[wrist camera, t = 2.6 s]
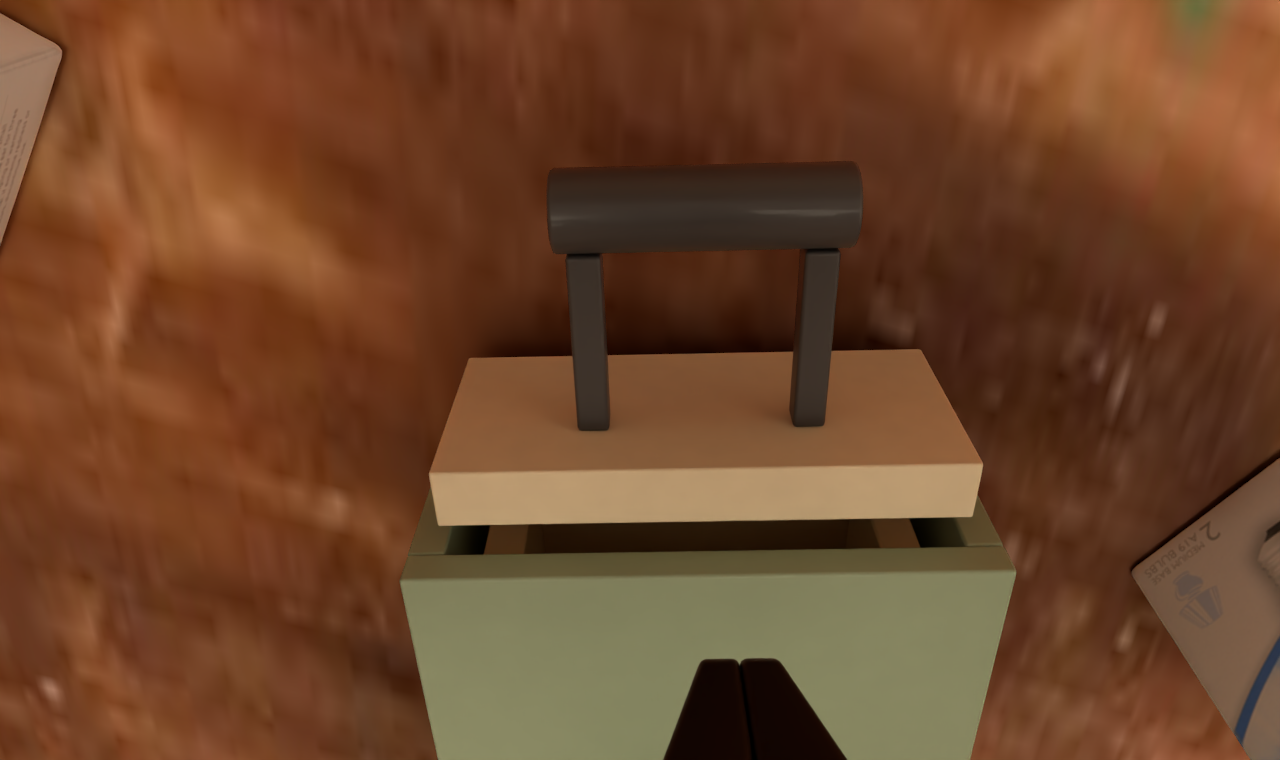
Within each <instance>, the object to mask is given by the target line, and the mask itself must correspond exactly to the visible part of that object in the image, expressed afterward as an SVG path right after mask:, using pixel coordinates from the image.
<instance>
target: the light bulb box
mask: <svg viewBox="0 0 1280 760" xmlns="http://www.w3.org/2000/svg"><path fill="white" fill-rule="evenodd" d="M1132 576H1133V578H1134V579H1135V581H1136V582H1137V584H1138V585H1139V587H1140V588H1141V590H1142V592H1143V593H1144V595H1145V596H1146V598H1147V600H1148V601H1149V603H1150V604H1151V606H1152V608H1153V609H1154V611H1155V612H1156V614H1157V615H1158V617H1159V619H1160V620H1161V622H1162V623H1163V625H1164V626H1165V628H1166V629H1167V631H1168V632H1169V634H1170V635H1171V637H1172V638H1173V640H1174V641H1175V643H1176V644H1177V646H1178V648H1179V649H1180V651H1181V652H1182V654H1183V656H1184V657H1185V659H1186V660H1187V662H1188V663H1189V665H1190V667H1191V668H1192V670H1193V671H1194V673H1195V675H1196V676H1197V678H1198V679H1199V681H1200V682H1201V684H1202V685H1203V687H1204V688H1205V690H1206V691H1207V693H1208V695H1209V696H1210V698H1211V699H1212V701H1213V702H1214V704H1215V706H1216V707H1217V709H1218V710H1219V712H1220V713H1221V715H1222V717H1223V718H1224V720H1225V721H1226V723H1227V724H1228V726H1229V727H1230V729H1231V730H1232V732H1233V733H1234V735H1235V736H1236V738H1237V739H1238V741H1239V742H1240V744H1241V746H1242V747H1243V749H1244V750H1245V752H1246V753H1247V755H1248V756H1249V758H1250V759H1251V760H1280V458H1279V459H1277V460H1276V461H1275V462H1274V463H1272V464H1271V465H1270V466H1268V467H1267V468H1266V469H1264V470H1263V471H1262V472H1260V473H1259V474H1258V475H1256V476H1255V477H1254V478H1252V479H1251V480H1250V481H1248V482H1247V483H1246V484H1244V485H1243V486H1242V487H1240V488H1239V489H1238V490H1236V491H1235V492H1234V493H1232V494H1231V495H1230V496H1228V497H1227V498H1226V499H1225V500H1223V501H1222V502H1221V503H1219V504H1218V505H1217V506H1215V507H1214V508H1213V509H1211V510H1210V511H1209V512H1207V513H1206V514H1205V515H1203V516H1202V517H1201V518H1200V519H1198V520H1197V521H1196V522H1194V523H1193V524H1192V525H1190V526H1189V527H1188V528H1186V529H1185V530H1184V531H1182V532H1181V533H1180V534H1178V535H1177V536H1176V537H1174V538H1173V539H1172V540H1170V541H1169V542H1168V543H1166V544H1165V545H1164V546H1162V547H1161V548H1160V549H1159V550H1157V551H1156V552H1155V553H1153V554H1152V555H1151V556H1149V557H1148V558H1147V559H1145V560H1144V561H1143V562H1141V563H1140V564H1138V565H1137V566H1136V567H1135V568H1134V569H1133V570H1132Z"/></svg>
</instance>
